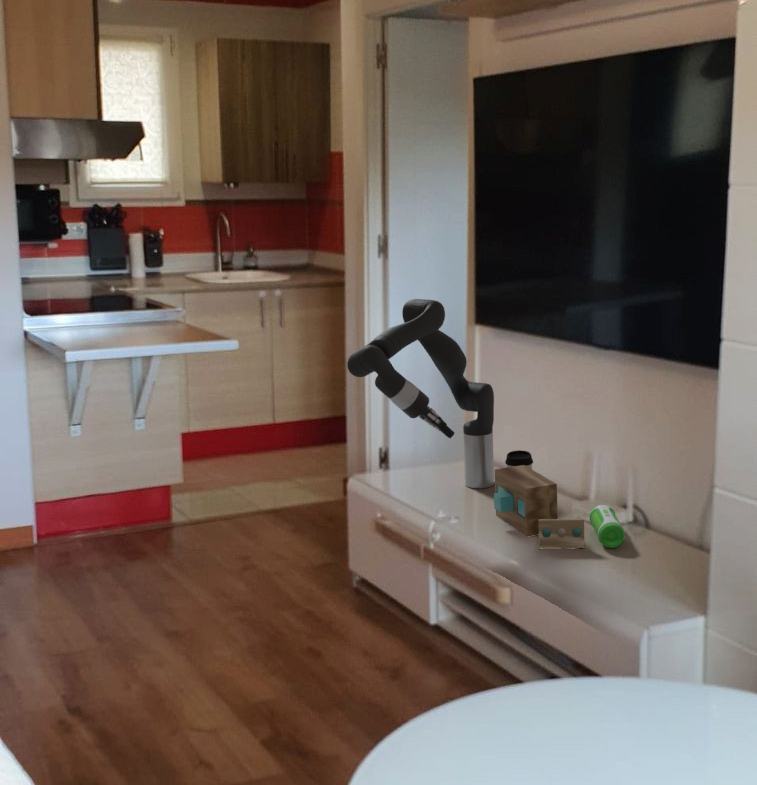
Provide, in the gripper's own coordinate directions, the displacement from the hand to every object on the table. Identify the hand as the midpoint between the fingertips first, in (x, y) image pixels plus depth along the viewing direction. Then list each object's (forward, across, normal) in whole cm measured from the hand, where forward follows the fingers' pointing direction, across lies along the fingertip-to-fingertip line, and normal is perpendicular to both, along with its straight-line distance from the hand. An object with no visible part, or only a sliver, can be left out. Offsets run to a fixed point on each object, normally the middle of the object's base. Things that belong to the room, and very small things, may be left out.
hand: (451, 435), depth 327 cm
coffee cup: (+39, +15, +1) cm, 42 cm away
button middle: (+26, -4, +6) cm, 27 cm away
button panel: (+34, -4, +6) cm, 35 cm away
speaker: (+44, -25, -4) cm, 51 cm away
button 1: (+29, +3, +3) cm, 29 cm away
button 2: (+29, -11, +3) cm, 31 cm away
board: (+34, -25, +5) cm, 43 cm away
